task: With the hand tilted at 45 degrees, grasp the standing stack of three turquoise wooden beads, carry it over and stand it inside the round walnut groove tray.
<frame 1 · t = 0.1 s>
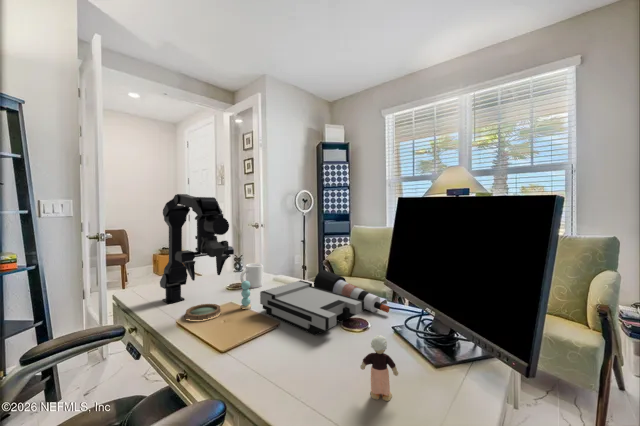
hand: (206, 277, 96), 15 cm above the table, tool pointing down, fingers open, 9 cm apart
bead stack: (245, 308, 106), on the table
cable: (350, 304, 111), on the table
grey boxy piece: (310, 317, 99), on the table
groove tray: (203, 314, 99), on the table
grandmother figurine: (378, 396, 58), on the table
mug: (251, 286, 134), on the table
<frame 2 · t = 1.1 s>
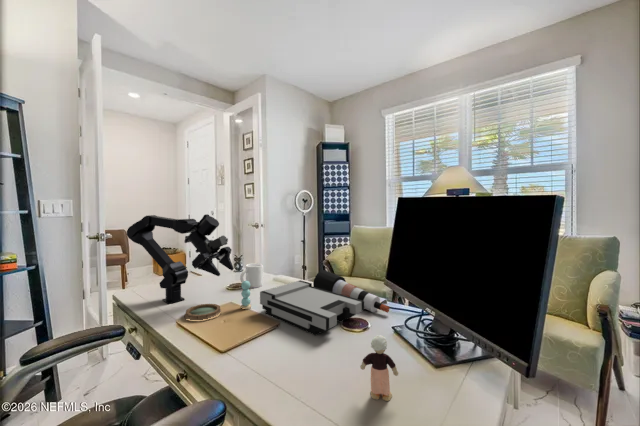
hand: (226, 272, 108), 13 cm above the table, tool tilted 45°, fingers open, 9 cm apart
nothing on the table moved.
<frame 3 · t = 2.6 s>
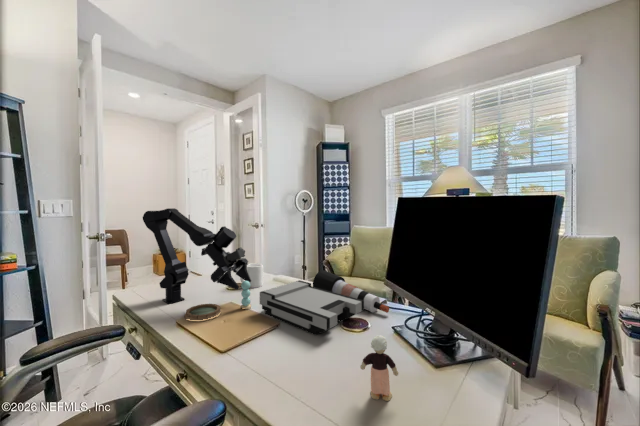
hand: (244, 285, 106), 9 cm above the table, tool tilted 45°, fingers open, 9 cm apart
nothing on the table moved.
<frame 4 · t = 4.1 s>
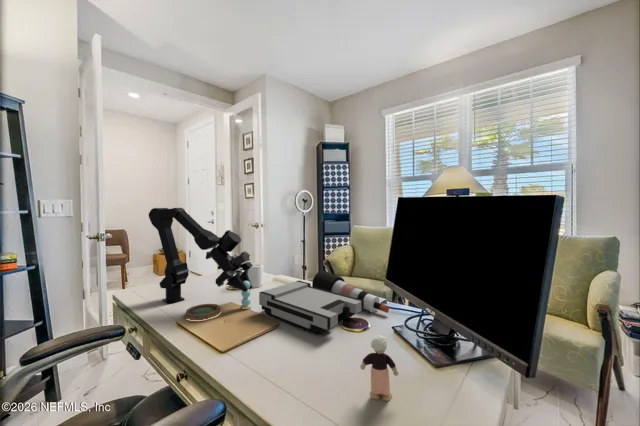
hand: (249, 289, 106), 7 cm above the table, tool tilted 45°, fingers closed on bead stack, 3 cm apart
bead stack: (246, 308, 106), on the table, touching gripper
everything else where it was.
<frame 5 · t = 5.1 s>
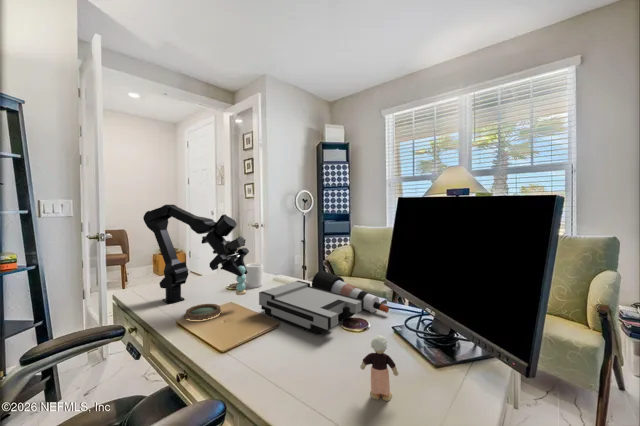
hand: (244, 274, 104), 13 cm above the table, tool tilted 45°, fingers closed on bead stack, 3 cm apart
bead stack: (240, 293, 105), point 6 cm above the table, touching gripper
everything else where it was.
when the fingers open (9 cm above the table, at t = 6.8 s): bead stack drops 1 cm, resting on groove tray.
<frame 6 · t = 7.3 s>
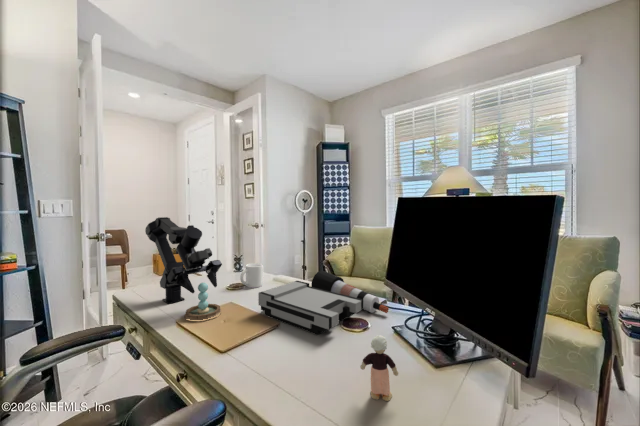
hand: (205, 289, 98), 10 cm above the table, tool tilted 45°, fingers open, 8 cm apart
bead stack: (203, 311, 99), point 1 cm above the table, touching groove tray
everything else where it was.
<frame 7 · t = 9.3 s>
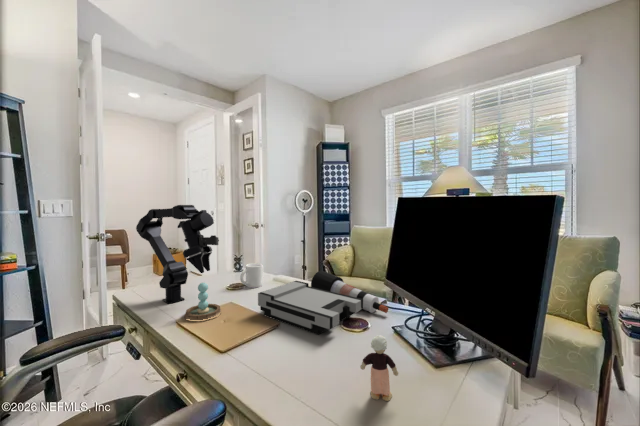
hand: (205, 271, 108), 14 cm above the table, tool tilted 20°, fingers open, 9 cm apart
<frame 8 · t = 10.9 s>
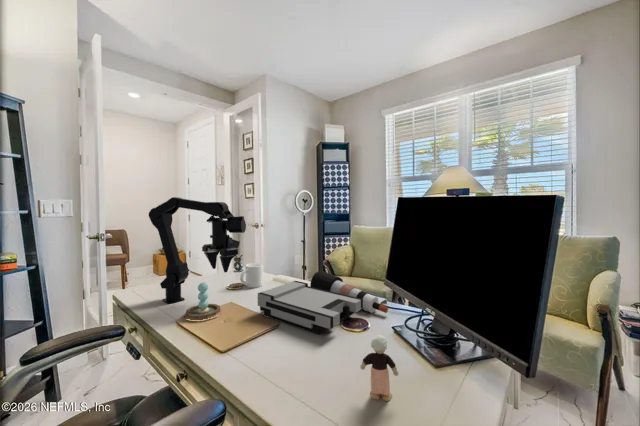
hand: (219, 270, 113), 13 cm above the table, tool pointing down, fingers open, 9 cm apart
at the end: bead stack inside the target area on the groove tray (0.0 cm from its centre), point 1.1 cm above the groove tray's base; bead stack tilted 0°; the gripper is holding nothing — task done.
